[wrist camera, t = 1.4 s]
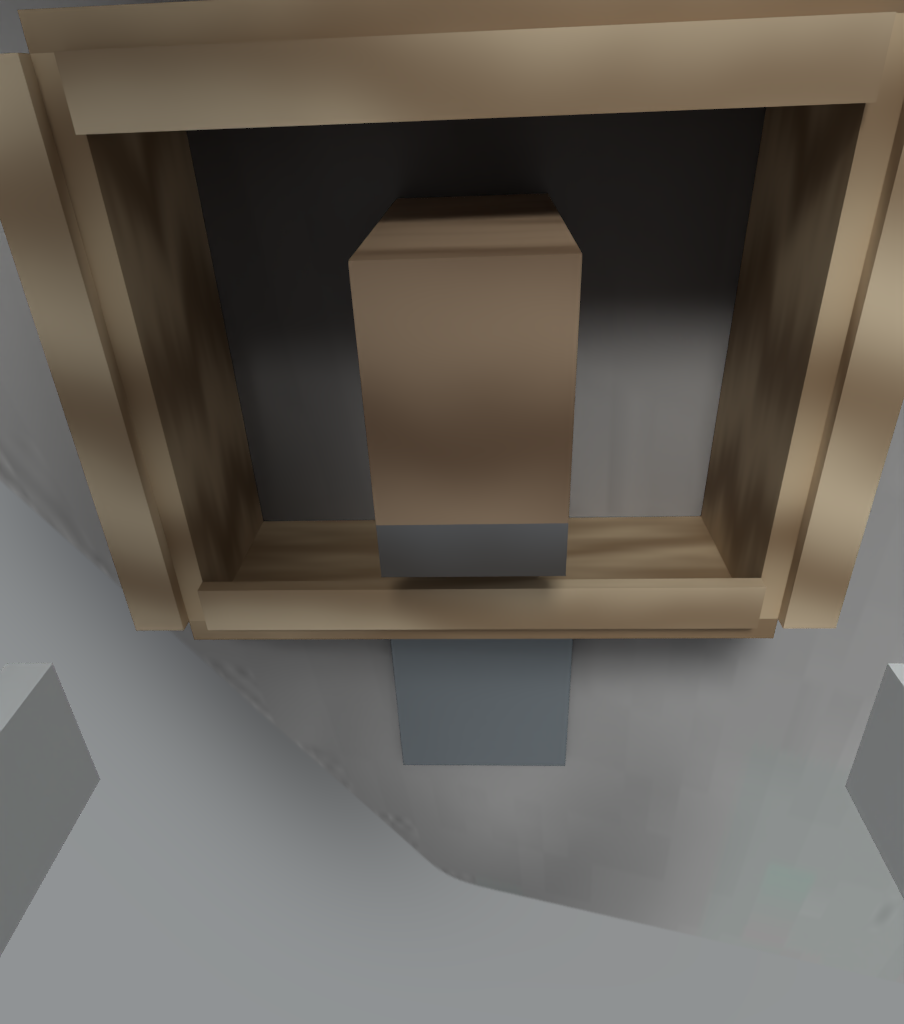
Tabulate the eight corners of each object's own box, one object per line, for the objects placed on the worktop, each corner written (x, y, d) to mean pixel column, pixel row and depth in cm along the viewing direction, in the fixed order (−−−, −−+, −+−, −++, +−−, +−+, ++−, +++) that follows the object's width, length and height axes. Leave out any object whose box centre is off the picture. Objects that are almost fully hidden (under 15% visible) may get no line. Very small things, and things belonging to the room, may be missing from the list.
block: (396, 198, 29) (348, 261, 19) (547, 193, 29) (582, 253, 18) (413, 428, 34) (381, 577, 24) (541, 425, 34) (565, 575, 23)
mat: (384, 560, 38) (382, 566, 38) (576, 559, 37) (577, 564, 37) (404, 758, 46) (403, 764, 45) (564, 759, 45) (565, 765, 45)
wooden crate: (85, 32, 27) (-69, 11, 19) (872, -6, 25) (1034, -44, 18) (209, 538, 38) (142, 649, 30) (759, 532, 36) (829, 647, 29)
